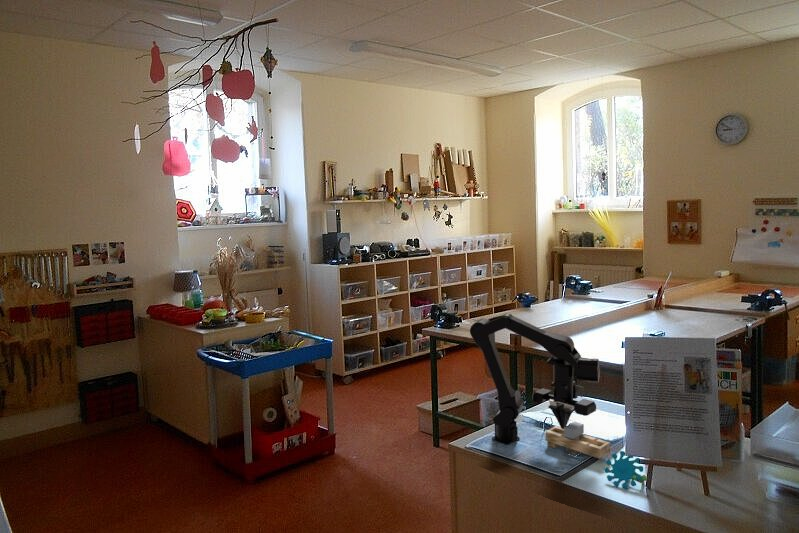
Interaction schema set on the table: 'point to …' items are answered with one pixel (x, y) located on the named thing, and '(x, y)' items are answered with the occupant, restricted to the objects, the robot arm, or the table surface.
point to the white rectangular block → (574, 430)
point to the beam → (577, 443)
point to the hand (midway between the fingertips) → (563, 428)
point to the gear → (625, 470)
